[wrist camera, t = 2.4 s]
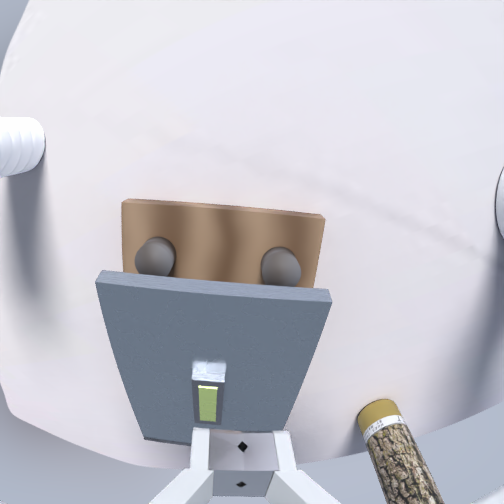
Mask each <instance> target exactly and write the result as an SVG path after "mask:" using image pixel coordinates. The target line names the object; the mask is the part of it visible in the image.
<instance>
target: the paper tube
mask: <svg viewBox="0 0 504 504" xmlns="http://www.w3.org/2000/svg"><path fill="white" fill-rule="evenodd" d="M358 424H359V427H360V430H361V432H362V435H363V438H364V441H365V443H366V446H367V449H368V452H369V454H370V457H371V460H372V462H373V465H374V468H375V471H376V473H377V476H378V479H379V482H380V485H381V488H382V490H383V493H384V496H385V499H386V502H387V504H444V501H443V499H442V497H441V495H440V493H439V490H438V488H437V486H436V484H435V482H434V480H433V478H432V475H431V473H430V471H429V469H428V467H427V465H426V463H425V461H424V459H423V457H422V455H421V453H420V451H419V449H418V447H417V445H416V443H415V441H414V439H413V437H412V435H411V433H410V431H409V429H408V427H407V425H406V423H405V421H404V419H403V417H402V415H401V413H400V412H399V410H398V408H397V406H396V404H395V403H394V402H393V401H392V400H388V399H381V400H377V401H375V402H372V403H371V404H369V405H367V406H366V407H365V408H364V409H363V410H362V411H361V412H360V414H359V416H358Z"/></svg>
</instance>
